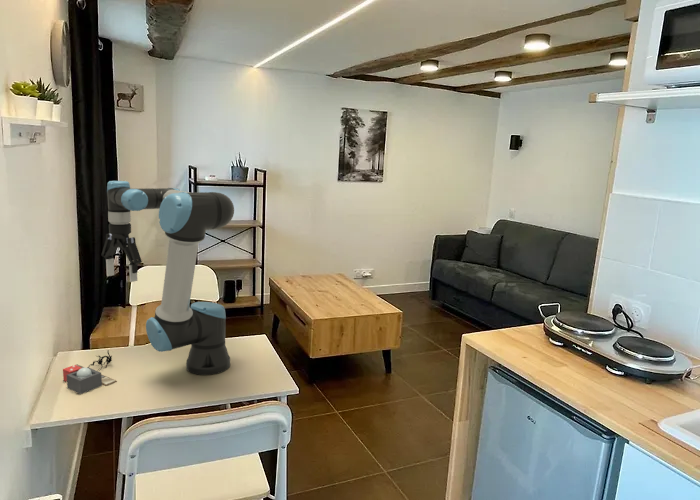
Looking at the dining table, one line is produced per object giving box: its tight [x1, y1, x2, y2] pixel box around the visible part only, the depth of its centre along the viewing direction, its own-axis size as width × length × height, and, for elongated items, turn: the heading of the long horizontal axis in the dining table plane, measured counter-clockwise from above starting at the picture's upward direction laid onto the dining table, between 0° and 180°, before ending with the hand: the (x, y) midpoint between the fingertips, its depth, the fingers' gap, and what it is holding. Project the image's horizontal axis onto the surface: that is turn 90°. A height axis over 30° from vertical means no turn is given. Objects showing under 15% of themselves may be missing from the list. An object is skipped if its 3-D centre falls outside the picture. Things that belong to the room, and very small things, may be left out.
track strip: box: [75, 363, 118, 387], centre depth 162 cm, size 22×4×1 cm, turn 60°
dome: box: [77, 367, 92, 379], centre depth 153 cm, size 4×4×5 cm
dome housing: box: [66, 366, 103, 395], centre depth 153 cm, size 7×7×4 cm
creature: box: [88, 349, 113, 372], centre depth 168 cm, size 8×5×8 cm
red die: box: [62, 364, 81, 383], centre depth 158 cm, size 4×4×4 cm
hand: (121, 278), depth 183 cm, fingers open, 13 cm apart
